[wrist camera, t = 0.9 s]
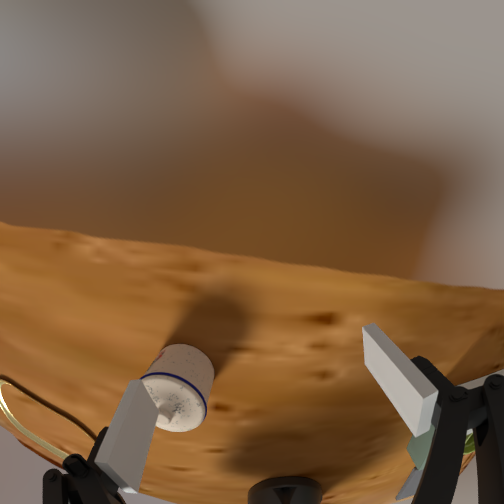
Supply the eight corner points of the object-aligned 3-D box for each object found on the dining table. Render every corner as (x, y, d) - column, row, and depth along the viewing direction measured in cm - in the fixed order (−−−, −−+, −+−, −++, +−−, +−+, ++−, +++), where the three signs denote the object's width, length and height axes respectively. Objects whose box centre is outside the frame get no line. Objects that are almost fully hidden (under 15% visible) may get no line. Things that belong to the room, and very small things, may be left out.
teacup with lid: (156, 334, 37) (121, 377, 25) (220, 348, 37) (206, 400, 25) (154, 398, 39) (128, 447, 27) (210, 412, 39) (197, 466, 27)
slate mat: (439, 482, 43) (440, 484, 42) (395, 497, 43) (396, 500, 42) (459, 450, 41) (461, 453, 40) (414, 467, 41) (415, 470, 40)
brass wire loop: (-10, 364, 41) (-14, 366, 39) (105, 431, 41) (101, 436, 40) (7, 417, 44) (4, 420, 42) (113, 477, 44) (110, 482, 42)
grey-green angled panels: (487, 418, 39) (512, 445, 27) (406, 448, 40) (427, 488, 28) (509, 366, 37) (541, 390, 25) (428, 393, 38) (461, 433, 26)
